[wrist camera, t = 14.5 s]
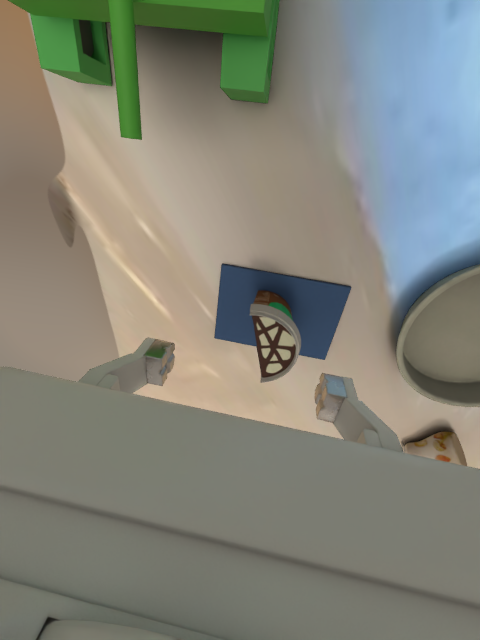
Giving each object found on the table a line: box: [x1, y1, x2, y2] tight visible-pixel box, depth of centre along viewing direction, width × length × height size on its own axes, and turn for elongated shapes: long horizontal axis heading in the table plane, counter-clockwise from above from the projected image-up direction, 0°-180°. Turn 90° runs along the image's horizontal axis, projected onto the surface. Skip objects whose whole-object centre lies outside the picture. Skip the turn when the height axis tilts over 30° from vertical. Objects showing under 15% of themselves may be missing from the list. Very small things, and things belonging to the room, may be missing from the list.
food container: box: [250, 290, 301, 383], centre depth 41 cm, size 12×6×10 cm, turn 9°
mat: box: [215, 264, 351, 360], centre depth 46 cm, size 20×14×1 cm
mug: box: [404, 432, 467, 466], centre depth 52 cm, size 8×10×10 cm
